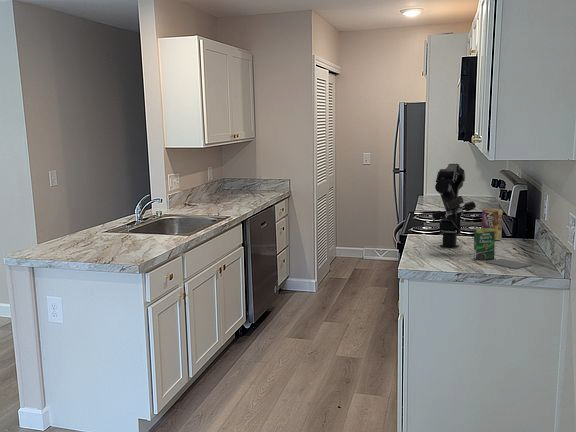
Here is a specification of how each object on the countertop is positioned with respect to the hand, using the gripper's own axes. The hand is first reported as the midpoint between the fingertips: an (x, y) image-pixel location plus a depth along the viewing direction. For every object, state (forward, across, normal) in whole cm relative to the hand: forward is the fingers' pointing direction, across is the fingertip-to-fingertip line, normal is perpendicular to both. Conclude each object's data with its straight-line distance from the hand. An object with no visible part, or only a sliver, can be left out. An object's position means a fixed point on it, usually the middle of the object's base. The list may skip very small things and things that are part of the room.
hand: (459, 229), depth 235 cm
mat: (+21, +12, -12) cm, 26 cm away
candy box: (+4, +20, +40) cm, 45 cm away
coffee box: (+16, +5, -4) cm, 17 cm away
